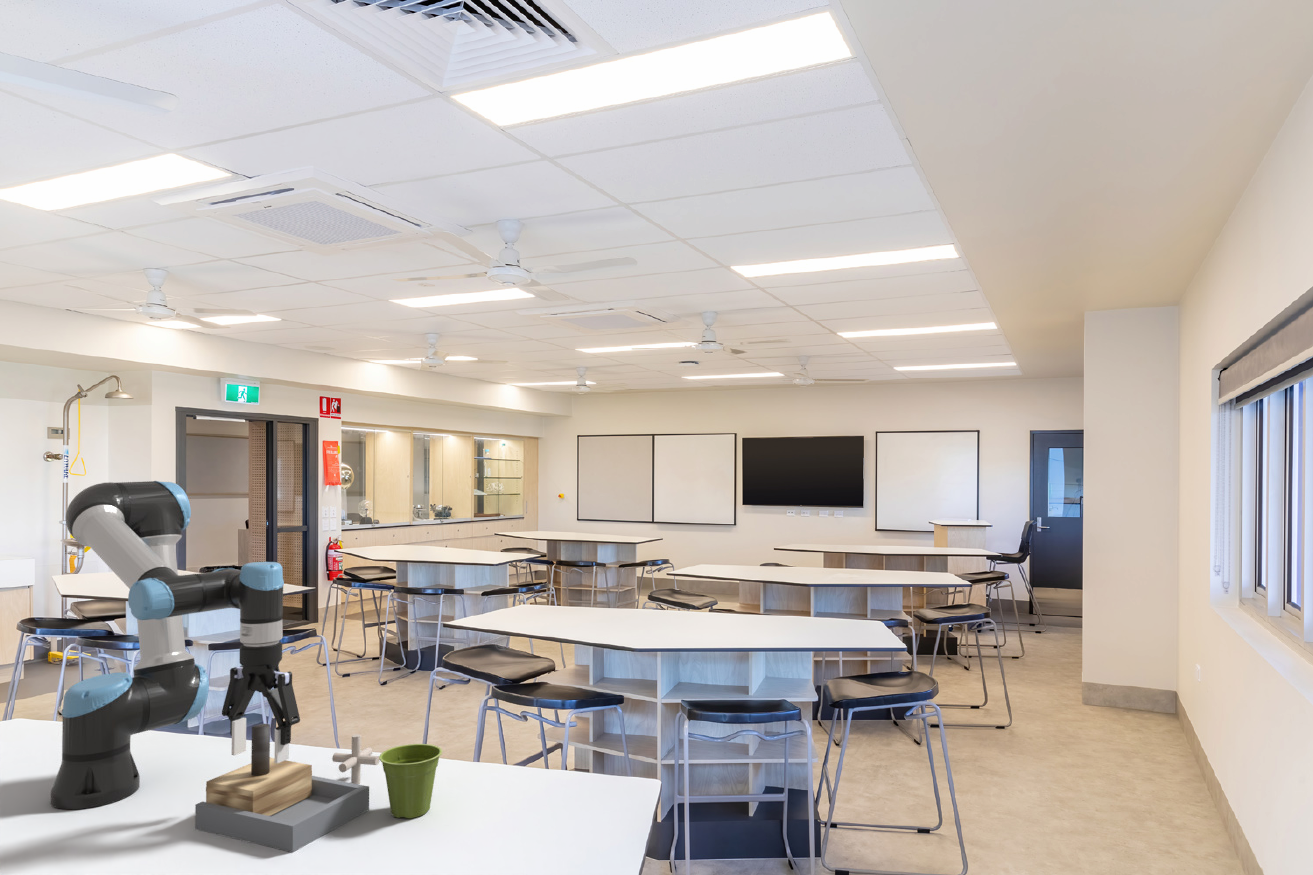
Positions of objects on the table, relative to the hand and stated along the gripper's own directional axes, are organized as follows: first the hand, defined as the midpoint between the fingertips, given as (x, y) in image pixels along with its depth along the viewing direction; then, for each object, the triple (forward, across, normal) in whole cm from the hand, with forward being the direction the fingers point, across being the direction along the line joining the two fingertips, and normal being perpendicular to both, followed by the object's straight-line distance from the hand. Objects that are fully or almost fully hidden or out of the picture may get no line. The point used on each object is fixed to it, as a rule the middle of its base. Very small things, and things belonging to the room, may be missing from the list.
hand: (259, 756), depth 161 cm
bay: (+11, +6, 0) cm, 13 cm away
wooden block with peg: (+9, 0, 0) cm, 9 cm away
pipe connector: (+11, +6, +19) cm, 23 cm away
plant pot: (+11, +26, +12) cm, 31 cm away
